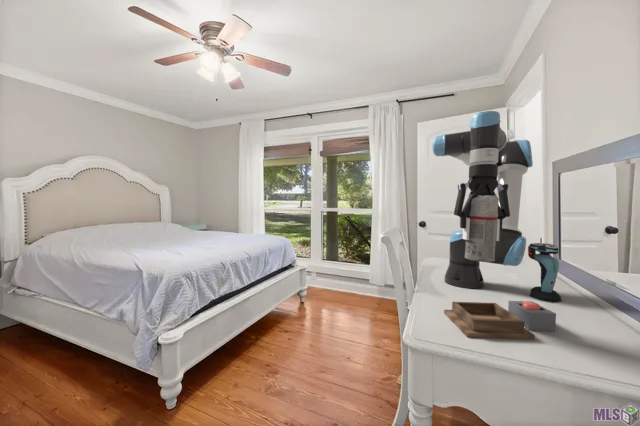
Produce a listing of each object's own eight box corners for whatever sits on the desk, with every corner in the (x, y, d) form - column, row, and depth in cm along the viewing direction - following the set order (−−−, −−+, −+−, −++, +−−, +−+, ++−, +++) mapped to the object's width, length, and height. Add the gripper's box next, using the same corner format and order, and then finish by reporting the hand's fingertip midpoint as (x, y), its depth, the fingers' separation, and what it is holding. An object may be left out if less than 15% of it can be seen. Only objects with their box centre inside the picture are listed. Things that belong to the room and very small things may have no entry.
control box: (508, 316, 84) (508, 300, 83) (531, 317, 83) (532, 301, 83) (528, 330, 75) (529, 312, 74) (555, 331, 74) (556, 313, 74)
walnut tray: (444, 313, 86) (444, 300, 85) (499, 315, 85) (499, 301, 84) (467, 337, 71) (467, 321, 70) (534, 339, 70) (535, 323, 70)
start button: (518, 309, 81) (519, 301, 81) (532, 309, 81) (533, 301, 80) (528, 314, 77) (528, 306, 77) (543, 315, 77) (543, 306, 76)
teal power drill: (543, 302, 96) (546, 246, 95) (518, 291, 107) (520, 241, 106) (568, 302, 96) (571, 246, 95) (540, 291, 108) (542, 241, 107)
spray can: (500, 263, 77) (504, 194, 77) (469, 261, 79) (472, 193, 78) (489, 258, 85) (492, 195, 85) (460, 256, 87) (464, 194, 87)
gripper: (453, 162, 78) (450, 240, 79) (528, 163, 77) (524, 242, 77) (443, 166, 86) (440, 237, 87) (511, 167, 84) (508, 239, 85)
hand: (480, 239), depth 82 cm, fingers closed on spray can, 8 cm apart
